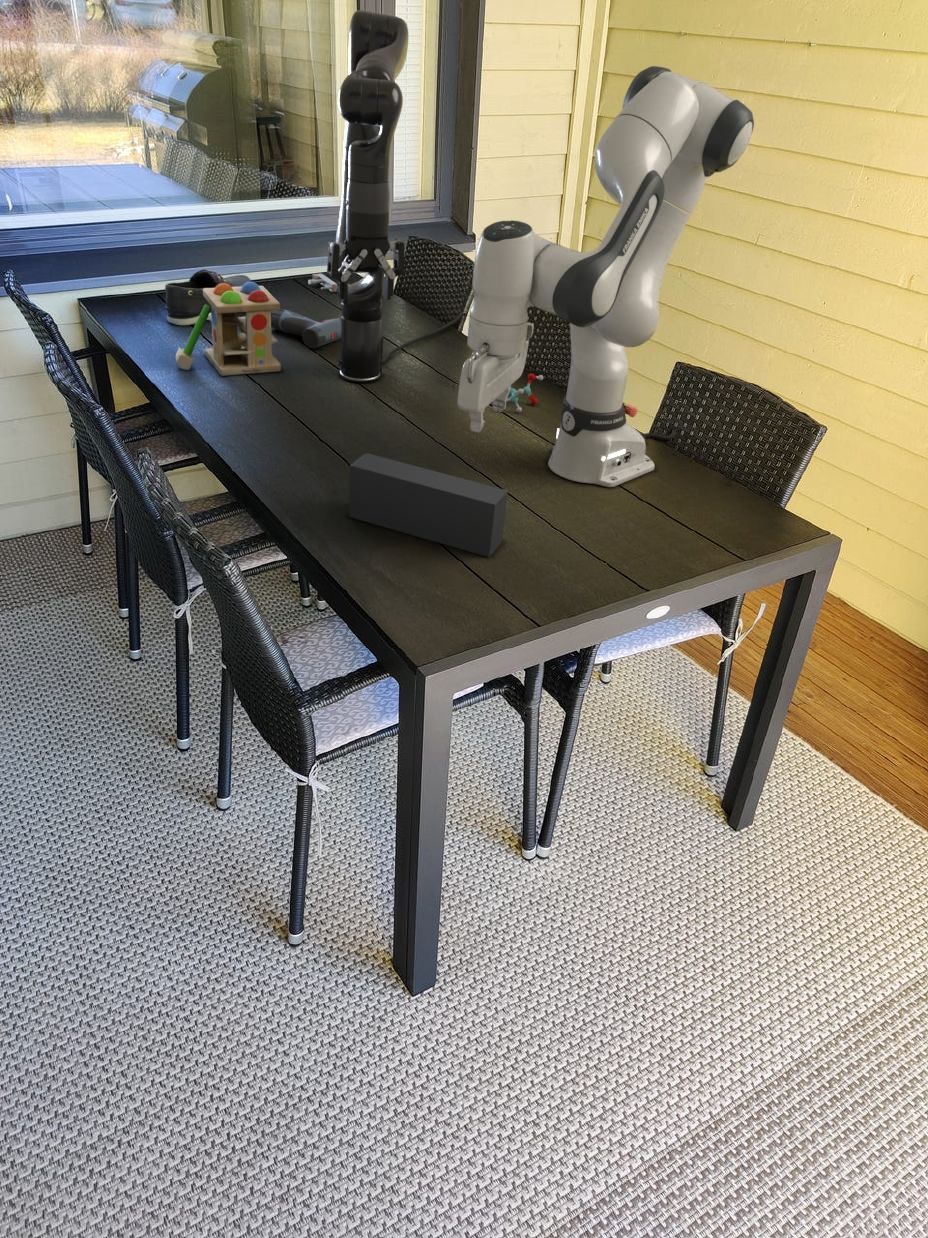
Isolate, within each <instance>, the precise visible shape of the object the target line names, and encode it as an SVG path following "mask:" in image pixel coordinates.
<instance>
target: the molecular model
mask: <svg viewBox="0 0 928 1238" xmlns="http://www.w3.org/2000/svg"><path fill="white" fill-rule="evenodd" d="M527 379H528V381H527V385H526V386H524V387H522V388H519V389H518V390H517V389H515V388H514V387H513V388H512V387H511V389H510V392H509V394H508V397H507V400H506V403H508V402H510V403H511V404H514V405H515V408H516V412H517V413H522V411H523V409H522V407H521V406H519V403H518V401H519V396H520V395H523V394H524V395H526V396H527V397H528V399H529V401H530V403H531V404H532V405H535V406H536V405H537V404H538V403H539V401H538V398H536V397H535V396H534V395H533V393H532V391H531V383H532V381H534V380H538V381H543V380H544V376H543V374H539V375H535V374H534V373H528V375H527Z"/></svg>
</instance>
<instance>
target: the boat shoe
mask: <svg viewBox="0 0 928 1238" xmlns="http://www.w3.org/2000/svg"><path fill="white" fill-rule="evenodd" d="M247 282H253V281H252V280H251V278H250V277H249V276H247V275H244V274H235V275H232V276H231V275H230V276H227V277H223V276H222V275H221V274H219V273H217V272H215V271H212V270H207V269H200V270H198V271H196V272H194V273H193V274H192V275H191V276H190V278H189V279H188V280H187V281H180V282H167V283H166V284H165V285H164V289H165V295H166V296H165V306H164V310H165V311H166V312H167V313H166V318H167V322H168V323H170V324H173V325H176V326H190V325H195V324H196V322H197V320H198V318H199V316H200V314H201V311H202V309H203V307H204V305H208V306H210V307H211V305H210V304H209V302H208V301H207V300H206V299H205V297H204V296H203V289H204V288H215V287H216V286H217V285H218V284H221V283H226V284H228V285H230V286H231V287H242V286H243V285H244V284H245V283H247ZM209 314H211V310H210V312H209ZM206 321H210V320H209V318H207V320H206Z"/></svg>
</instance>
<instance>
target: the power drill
mask: <svg viewBox="0 0 928 1238" xmlns="http://www.w3.org/2000/svg"><path fill="white" fill-rule="evenodd" d="M271 328H274V329H276V330H278V331H281V332H284V333H288V334H290V335H296V336H300V337H302V341H303V343H304V344H305V346H306V347H308V348H309V349H316V348H319V347H322V346H325V345H328V344H330V343H333V342H336V341H338V340H341V317H338V318H331V319H324V320H322V321H320V322H319V321H316V320H314V319H312V318H309V317H306V316H304V315H302V314H300V313H297V312H293V311H291V310H288V309H283V308H280V310H271Z"/></svg>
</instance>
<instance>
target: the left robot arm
mask: <svg viewBox="0 0 928 1238" xmlns="http://www.w3.org/2000/svg"><path fill="white" fill-rule="evenodd" d="M347 46H348V49H347V76H346V77H345V78H344V80H343V81H342V83H341V85H340V88H339V92H338V97H337V105H338V111H339V113H340V115H341V117H342V118H343V119H344V120H345V125H344V135H343V136H344V137H343V146H342V147H343V149H342V165H341V167H342V168H341V190H340V192H341V193H340V204H339V212H338V219H337V226H336V227H337V228H336V233H335V234H336V235H335V240H330V241H329V242H328V248H327V263H326V264H327V265H326V274H327V275H328V276H329V277H331V278H332V279H334V280H336V284H337V289H336V290H337V291H336V296H337V298H338V299H339V301H341V307H340V308H341V310H340V311H341V312H340V314H341V315H340V318H341V338H340V358H339V359H338V367H340V369H339V376H340V377H341V378H342V380H345V381H348V382H352V383H359V384H360V383H361V384H364V383H365V384H366V383H367V384H369V383H373V382H376V381H378V380H380V378H381V375H382V374H383V364H384V363H386V362H387V361H388V360H389V358H390V357H391V356H392V355H393V354H395V353H397V352H398V351H400V350H402V349H404V348H406V347H408V346H411V345H413V344H415V343H417V342H419V341H422V340H424V339H426V338H429V337H431V336H433V335H435V334H437V333H439V332H441V331H444V330H446V329H447V328H449V327H450V326H452V325H454V324H455V323H457V322H458V321H459V320H460V319H462V317H463V316H467V314H466V312H465V313H464V314H463V312H462V311H460V313H459V314H458V316H457V317H455V318H454V319H453V320H451V321H450V322H449V321H448V323H446V324H444V325H442V326H441V327H439V328H437V329H434V330H432V331H430V332H428V333H425V334H423V335H420V336H418V337H415V338H414V339H411V340H409V341H407V342H404V343H403V344H400V345H399V346H396V347H394V348H393V349H391V350H390V351H389V352H387V354H386V355H385V356H384V358H383V353H384V335H383V334H382V323H383V299H385V300H386V301H388V300H391V298H392V297H393V296H394V291H395V289H394V288H395V279H396V278H397V277H399V276H404V275H405V273H406V270H405V269H406V268H405V266H406V265H405V264H406V261H405V260H406V259H405V254H406V253H405V243H404V241H402V240H400V239H398V238H394V239H393V240H389V232H390V231H389V229H390V228H389V226H390V205H391V203H390V201H391V192H390V164H391V163H390V162H391V152H392V145H393V140H394V137H395V133H396V129H397V127H398V124H399V120H400V116H401V114H402V111H403V105H404V96H403V92H402V90H401V88H400V86H399V84H398V83H397V82H396V79H397V78H398V77H399V76H400V74H401V72H402V70H403V69H404V67H405V63H406V60H407V55H408V49H409V28H408V25H407V22H406V21H405V20H404V18H402V17H399V16H396V15H392V14H386V13H380V12H375V11H368V10H362V9H361V10H359V9H358V10H356V11H354V13H353V14H352V17H351V19H350V24H349V30H348V45H347ZM389 251H391V253H392V256H393V257H392V260H393V261H392V262H393V263H392V267H391V264H390V263H389V261H388V260H387V253H388V252H389ZM352 274H365V275H364V276H363V277H362V278H361V279H359V280H357V281H356V282H353V283H351V284H349V281H348V279H349V278H350V277H351V276H352ZM348 284H349V286H348Z"/></svg>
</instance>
